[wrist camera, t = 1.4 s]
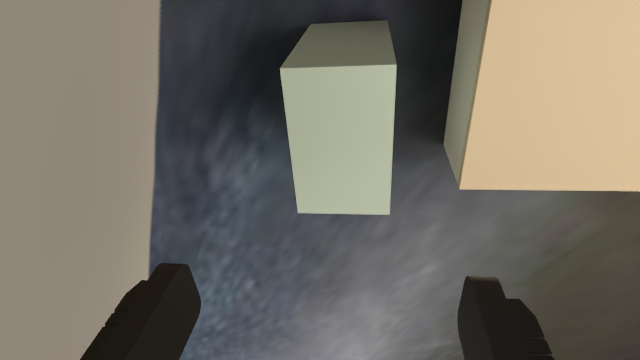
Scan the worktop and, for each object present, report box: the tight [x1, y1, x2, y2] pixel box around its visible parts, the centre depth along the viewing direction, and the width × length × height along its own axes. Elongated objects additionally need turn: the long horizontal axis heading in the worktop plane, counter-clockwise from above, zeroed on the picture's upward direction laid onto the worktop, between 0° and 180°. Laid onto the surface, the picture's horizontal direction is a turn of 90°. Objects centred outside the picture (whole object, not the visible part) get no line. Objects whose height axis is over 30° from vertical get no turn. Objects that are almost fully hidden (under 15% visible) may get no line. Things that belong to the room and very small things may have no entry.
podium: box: [443, 0, 640, 191], centre depth 21 cm, size 12×12×6 cm
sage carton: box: [280, 20, 397, 215], centre depth 22 cm, size 8×5×10 cm, turn 4°
